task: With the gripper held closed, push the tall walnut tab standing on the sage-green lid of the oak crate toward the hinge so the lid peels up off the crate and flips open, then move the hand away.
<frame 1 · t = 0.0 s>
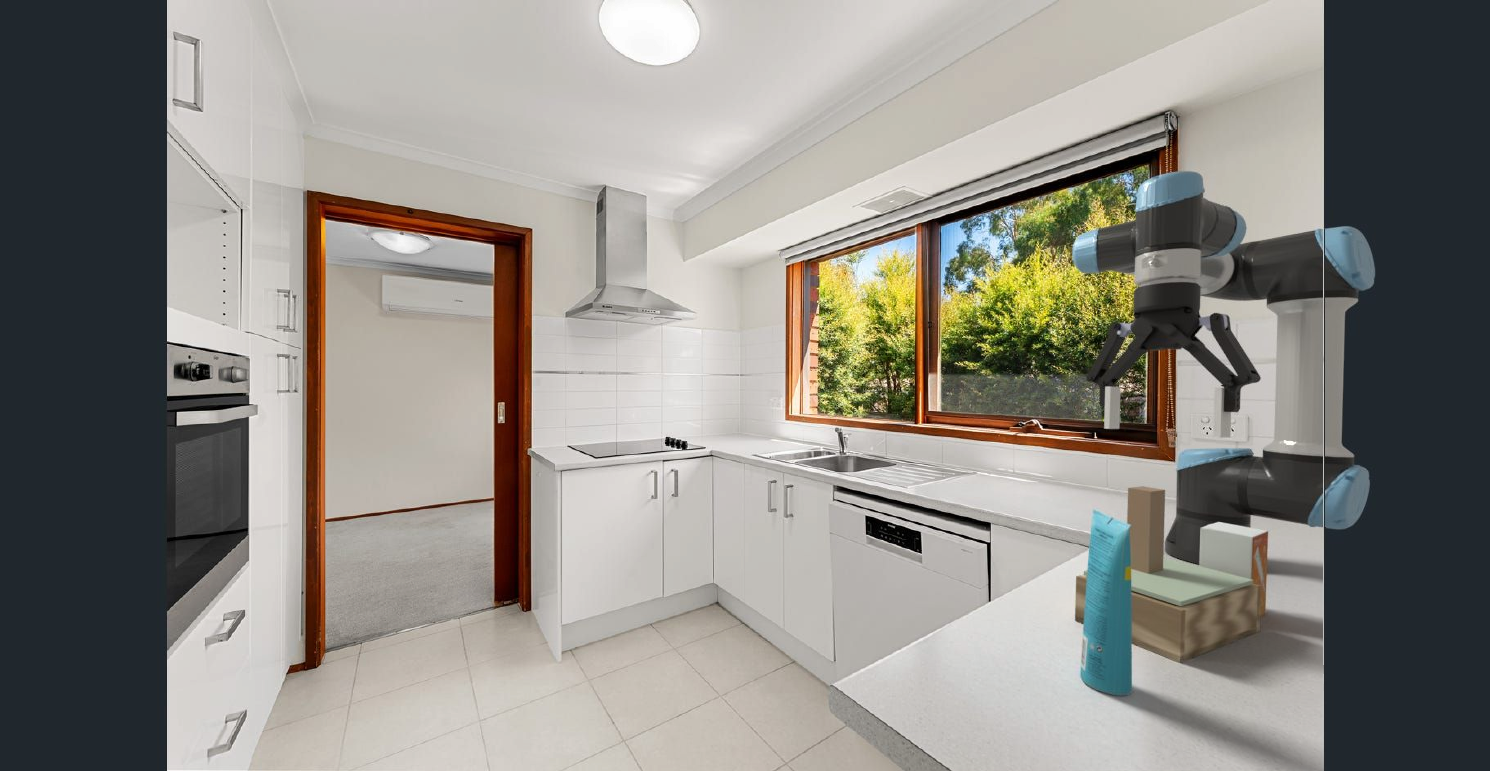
hand: (1162, 432, 76), 28 cm above the countertop, tool pointing down, fingers open, 13 cm apart
tube: (1106, 685, 61), on the countertop
lid: (1168, 536, 77), point 13 cm above the countertop, hinge at 0.0°
small box: (1231, 613, 83), on the countertop
crate: (1166, 625, 77), on the countertop
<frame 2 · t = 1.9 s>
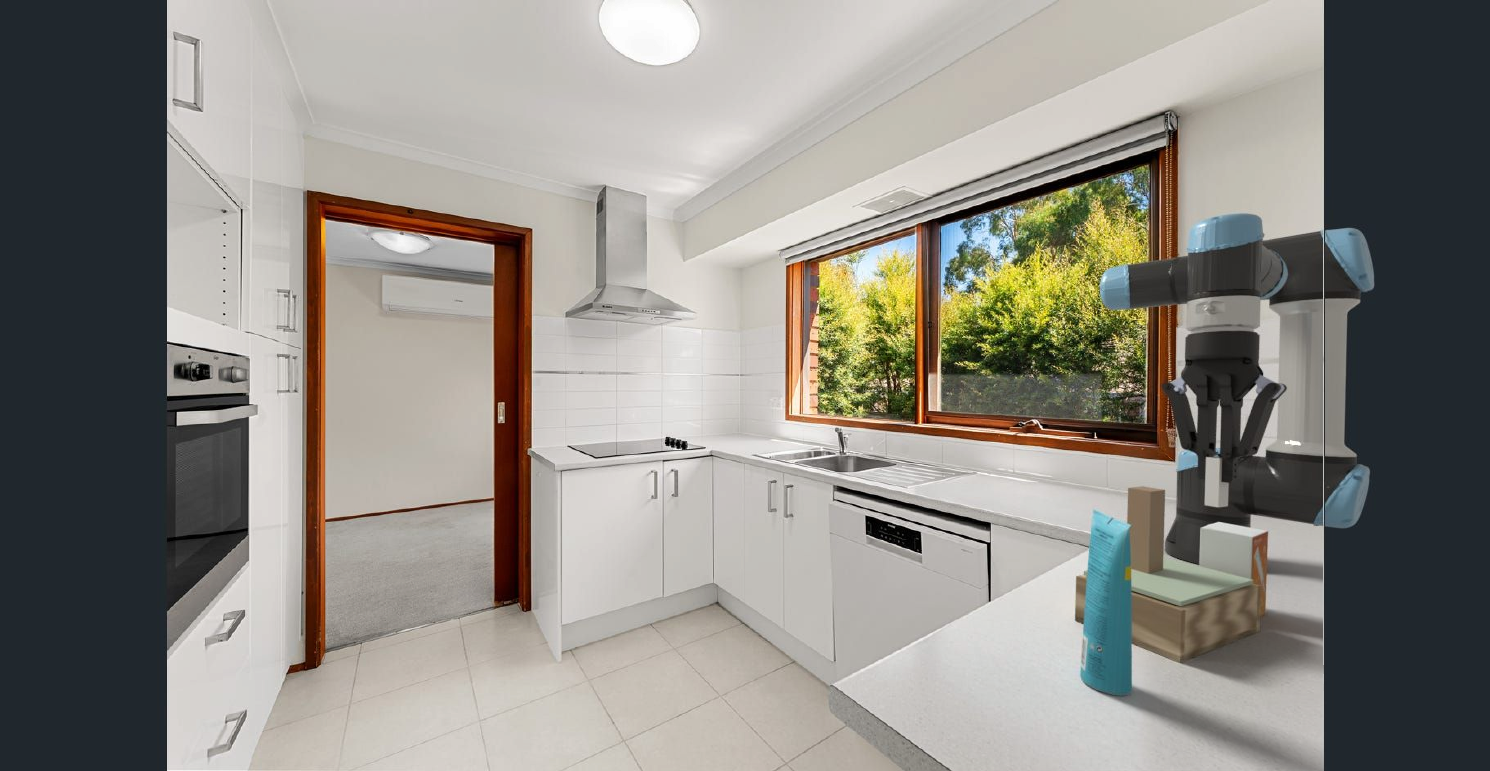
hand: (1216, 505, 72), 19 cm above the countertop, tool pointing down, fingers closed
nothing on the countertop moved.
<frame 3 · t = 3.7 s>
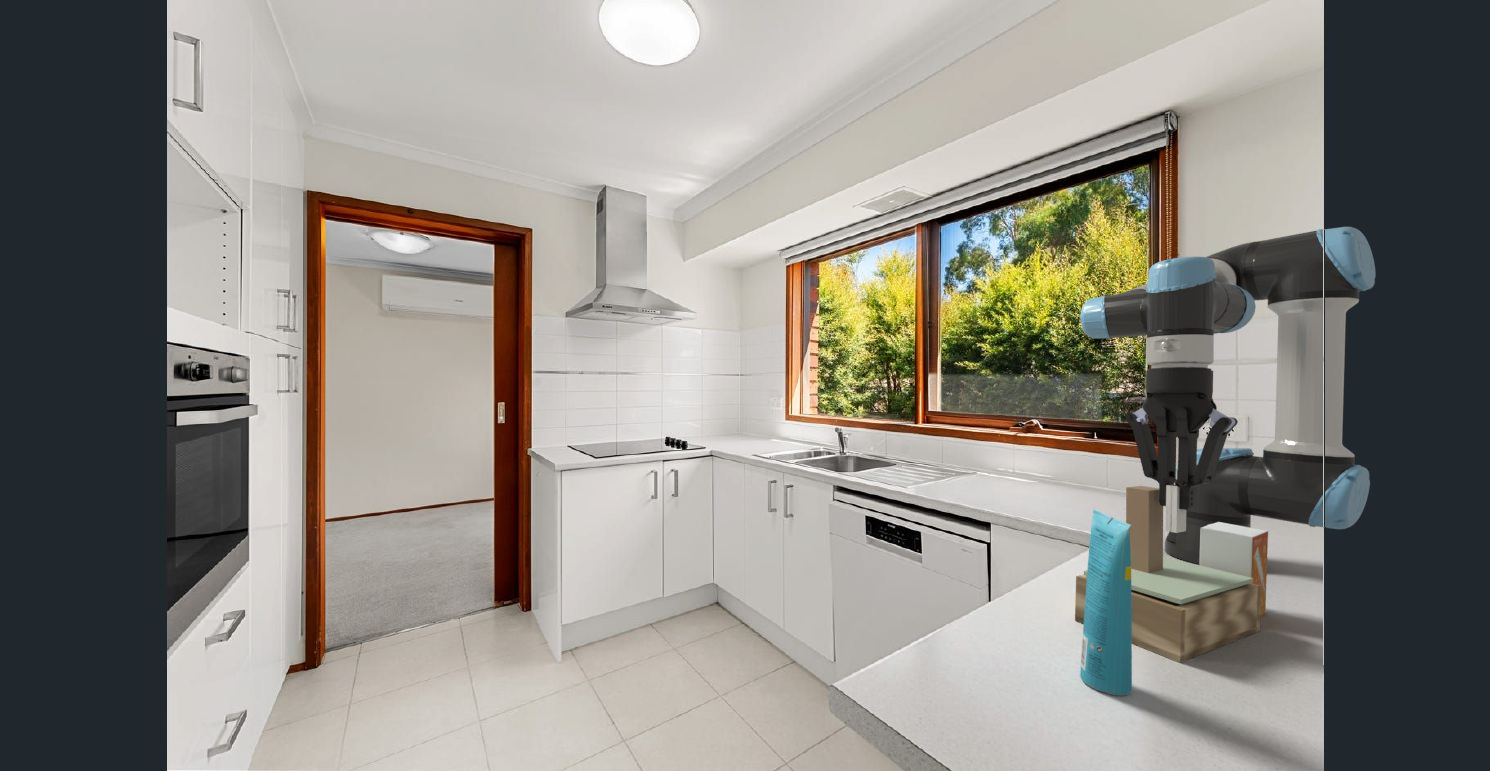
hand: (1175, 530, 76), 14 cm above the countertop, tool pointing down, fingers closed
lid: (1167, 535, 77), point 13 cm above the countertop, hinge at 1.2°, touching gripper
everything else where it was.
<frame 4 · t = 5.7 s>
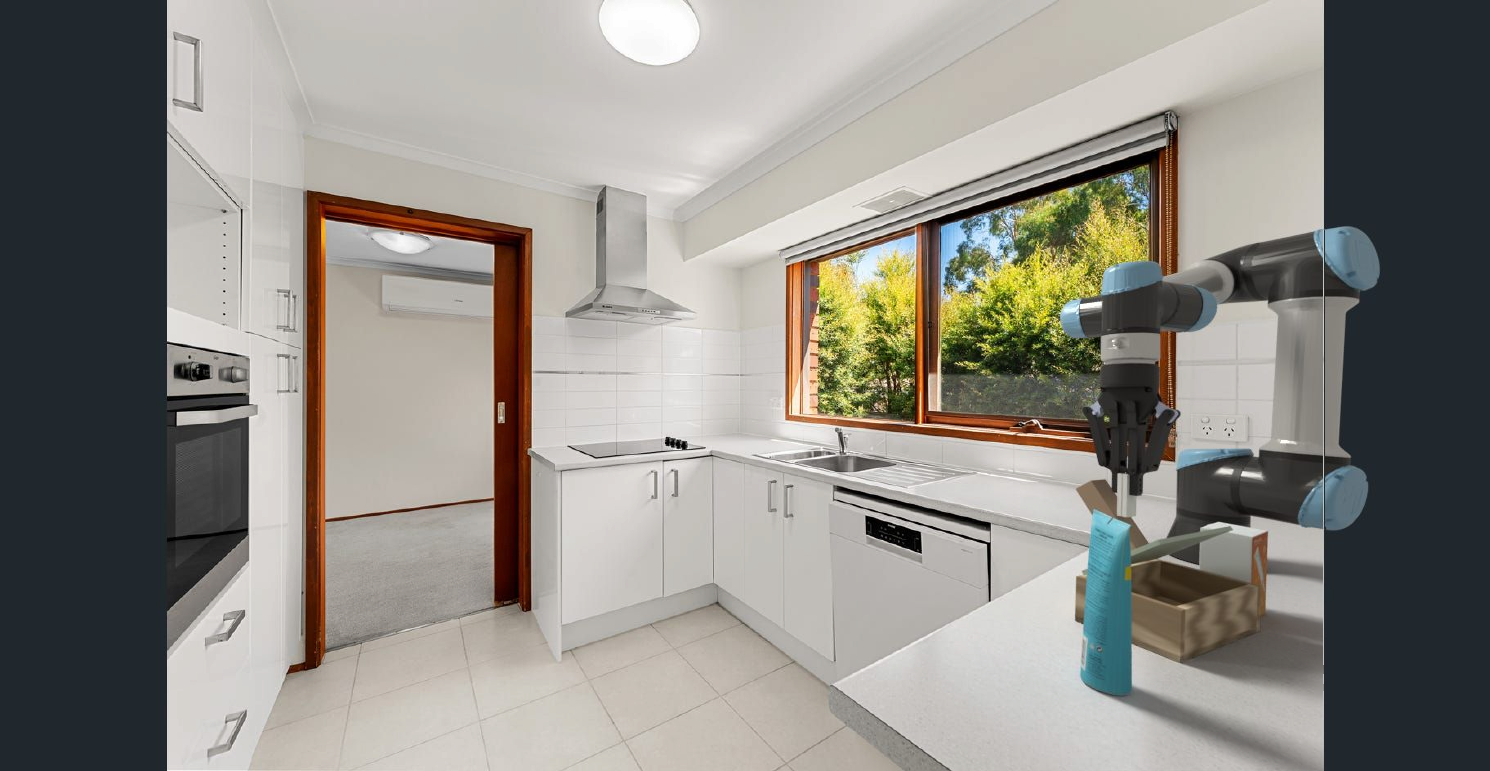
hand: (1126, 515, 82), 15 cm above the countertop, tool pointing down, fingers closed
lid: (1131, 512, 81), point 15 cm above the countertop, hinge at 36.8°, touching gripper
everything else where it was.
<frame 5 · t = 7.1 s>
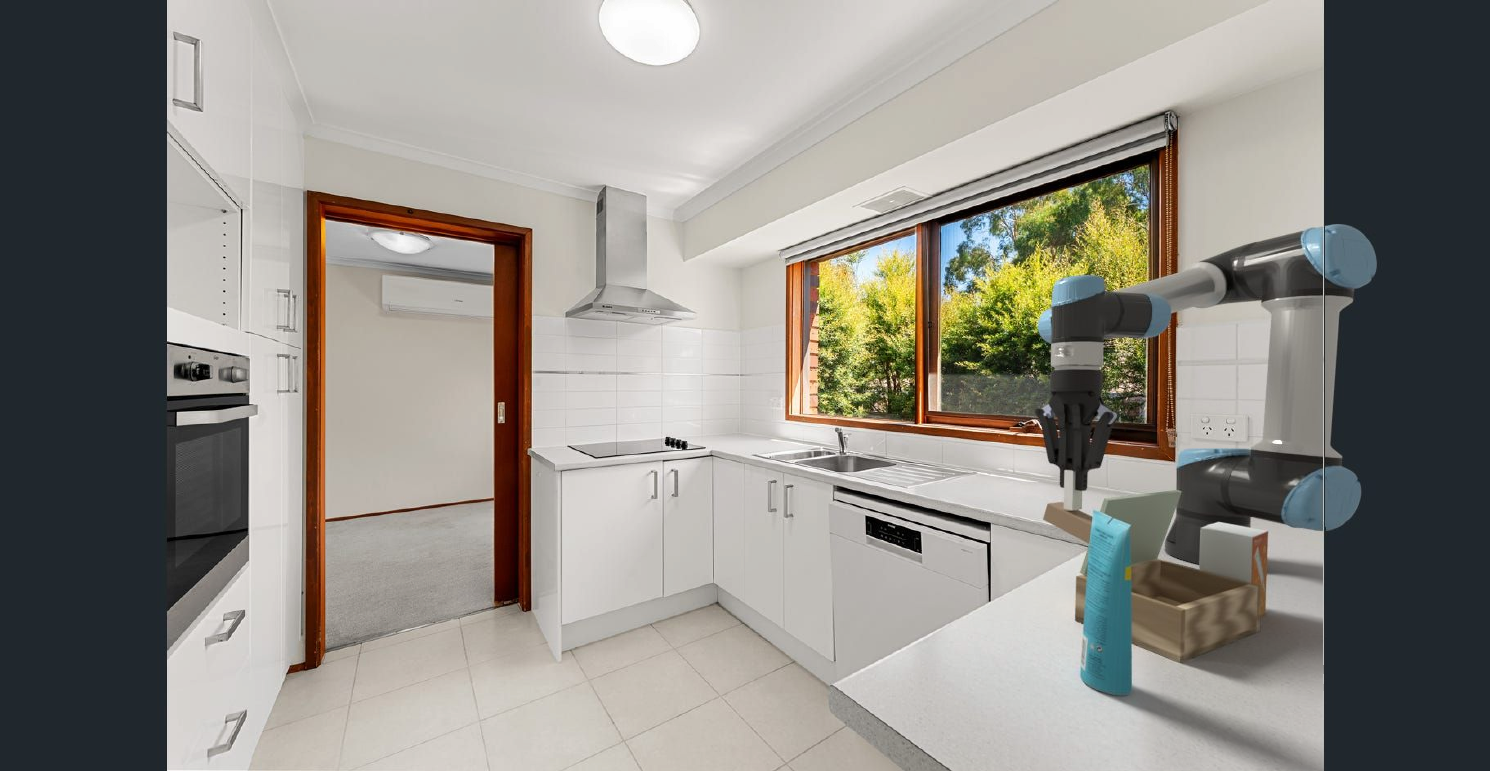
hand: (1072, 508, 89), 14 cm above the countertop, tool pointing down, fingers closed
lid: (1093, 512, 86), point 14 cm above the countertop, hinge at 75.0°, touching gripper
everything else where it was.
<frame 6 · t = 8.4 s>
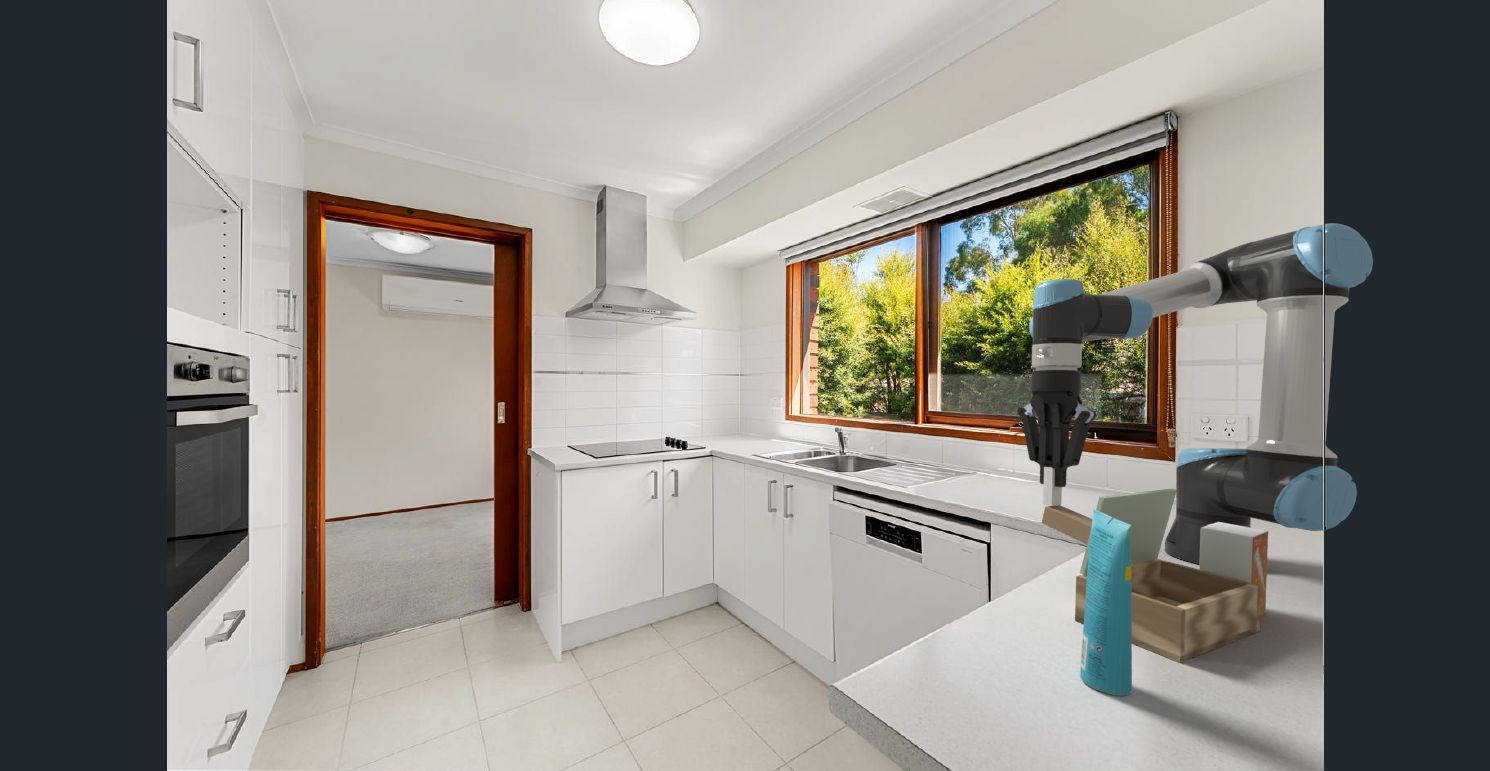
hand: (1052, 504, 92), 14 cm above the countertop, tool pointing down, fingers closed
lid: (1090, 513, 87), point 14 cm above the countertop, hinge at 78.2°, touching gripper
everything else where it was.
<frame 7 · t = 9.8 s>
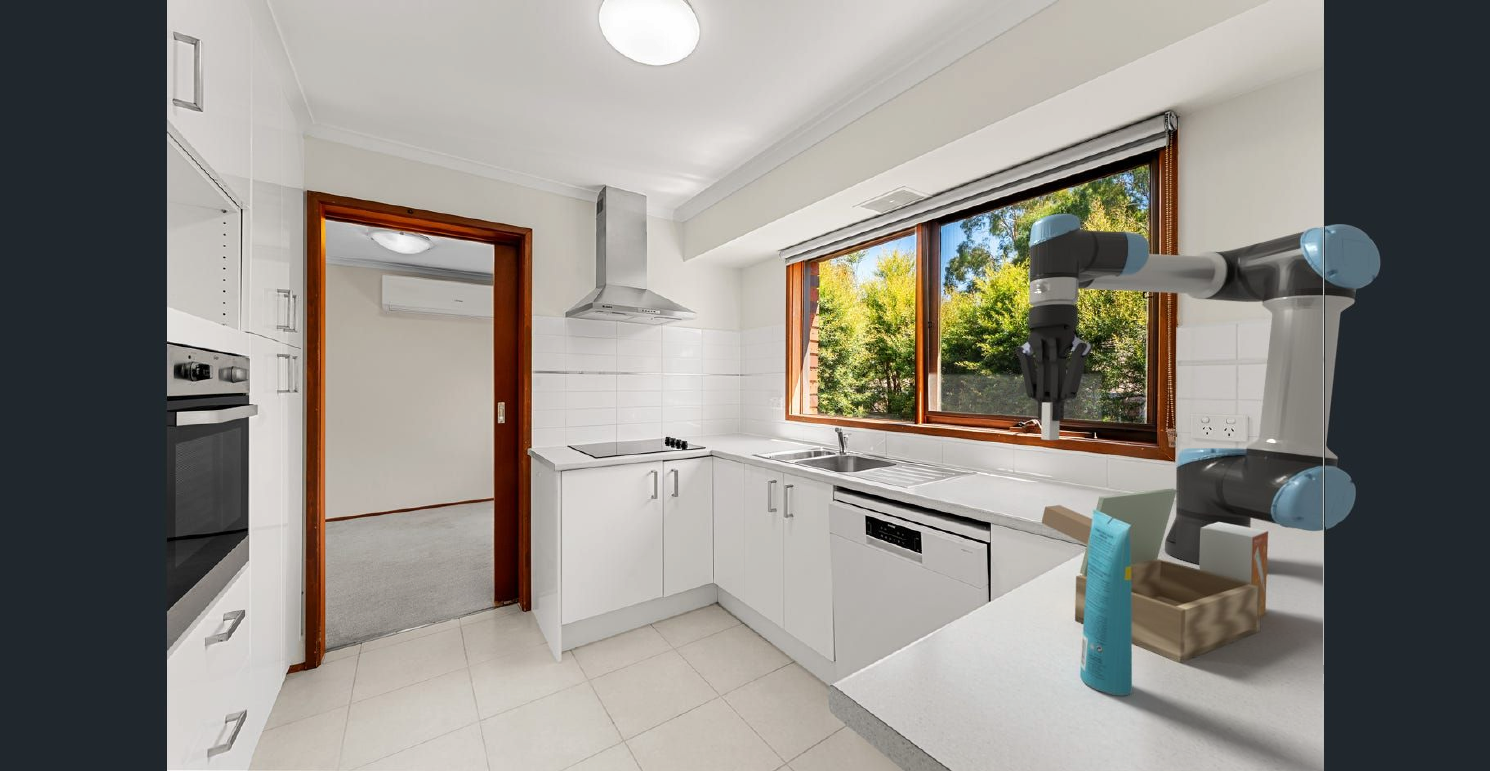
hand: (1050, 439, 93), 25 cm above the countertop, tool pointing down, fingers closed
lid: (1090, 513, 87), point 14 cm above the countertop, hinge at 78.2°
everything else where it was.
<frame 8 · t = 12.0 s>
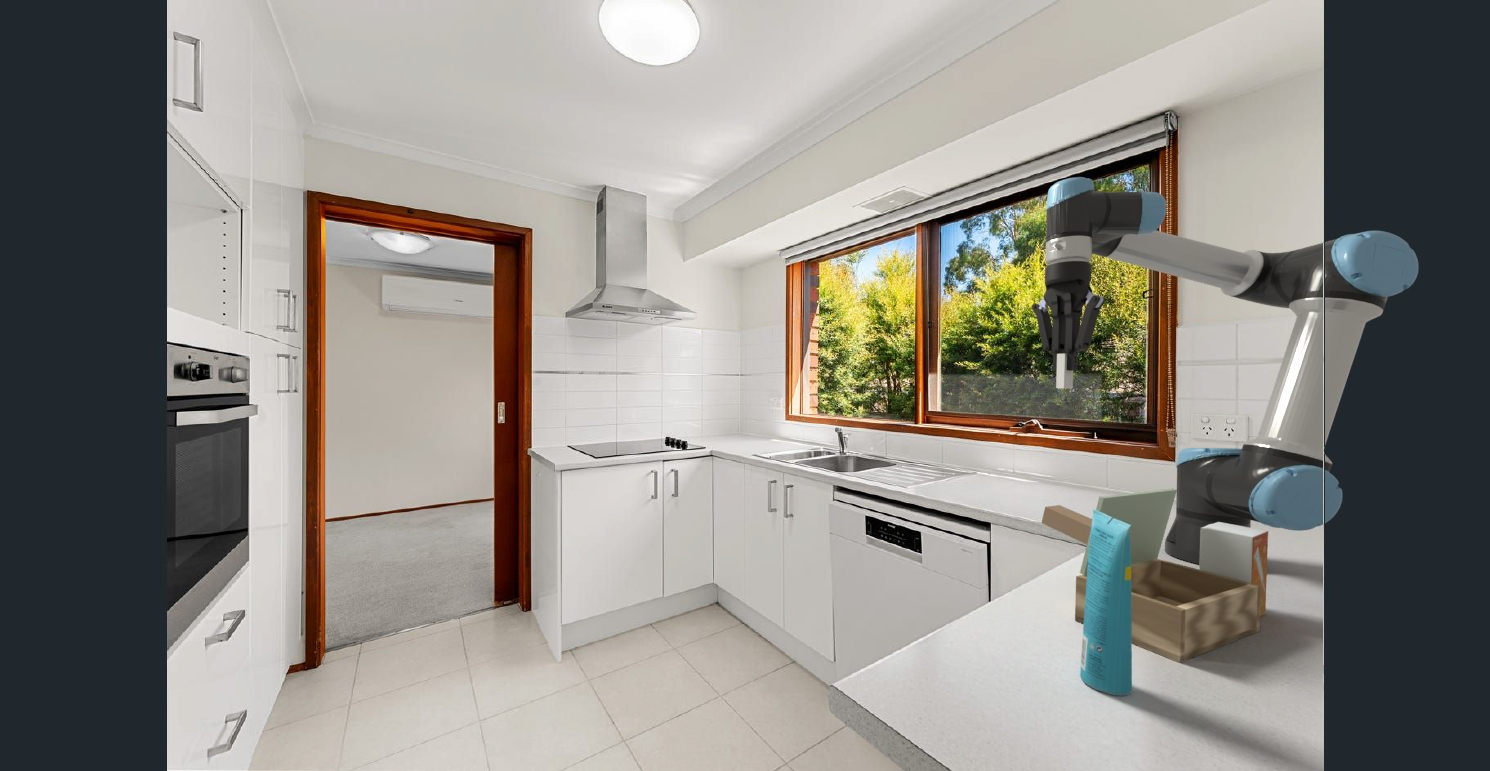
hand: (1064, 388, 100), 34 cm above the countertop, tool pointing down, fingers closed
nothing on the countertop moved.
at the end: lid at +78° (first picture: +0°); lid touching nothing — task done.
